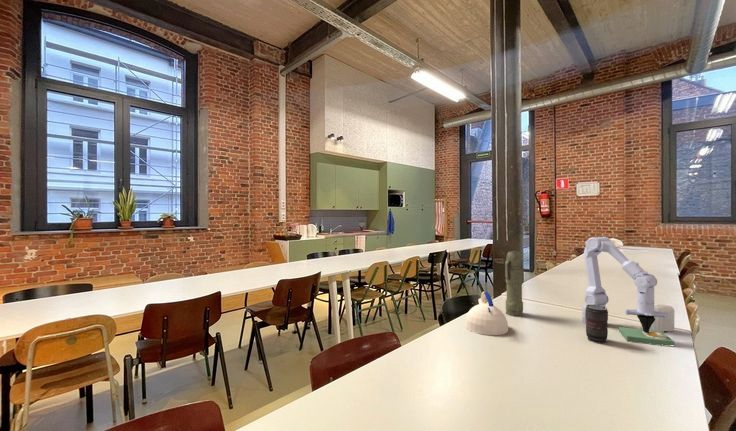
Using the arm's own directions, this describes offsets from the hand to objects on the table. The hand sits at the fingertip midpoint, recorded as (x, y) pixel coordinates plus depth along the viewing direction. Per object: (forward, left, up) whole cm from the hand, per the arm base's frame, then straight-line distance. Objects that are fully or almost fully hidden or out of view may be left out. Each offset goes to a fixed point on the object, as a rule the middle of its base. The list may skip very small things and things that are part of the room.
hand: (645, 332), depth 144 cm
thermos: (-53, +17, -3) cm, 56 cm away
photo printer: (+11, +15, -3) cm, 19 cm away
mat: (0, 0, -3) cm, 3 cm away
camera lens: (-20, -10, -3) cm, 23 cm away
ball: (+2, 0, -1) cm, 3 cm away
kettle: (-66, -11, -3) cm, 67 cm away
